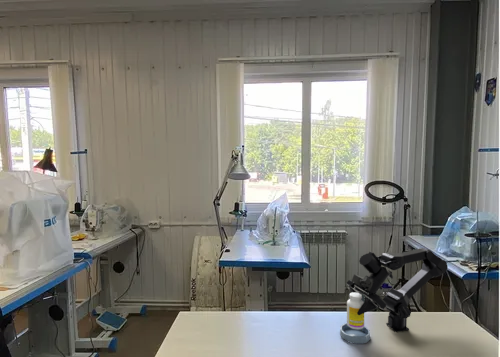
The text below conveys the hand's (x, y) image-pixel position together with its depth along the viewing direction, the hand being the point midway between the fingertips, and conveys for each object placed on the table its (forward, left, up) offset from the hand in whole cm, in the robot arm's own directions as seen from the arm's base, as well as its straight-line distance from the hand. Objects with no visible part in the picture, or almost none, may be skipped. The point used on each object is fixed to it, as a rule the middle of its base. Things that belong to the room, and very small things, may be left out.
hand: (352, 310), depth 130 cm
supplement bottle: (-1, 0, -7) cm, 7 cm away
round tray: (-1, 0, -11) cm, 11 cm away
